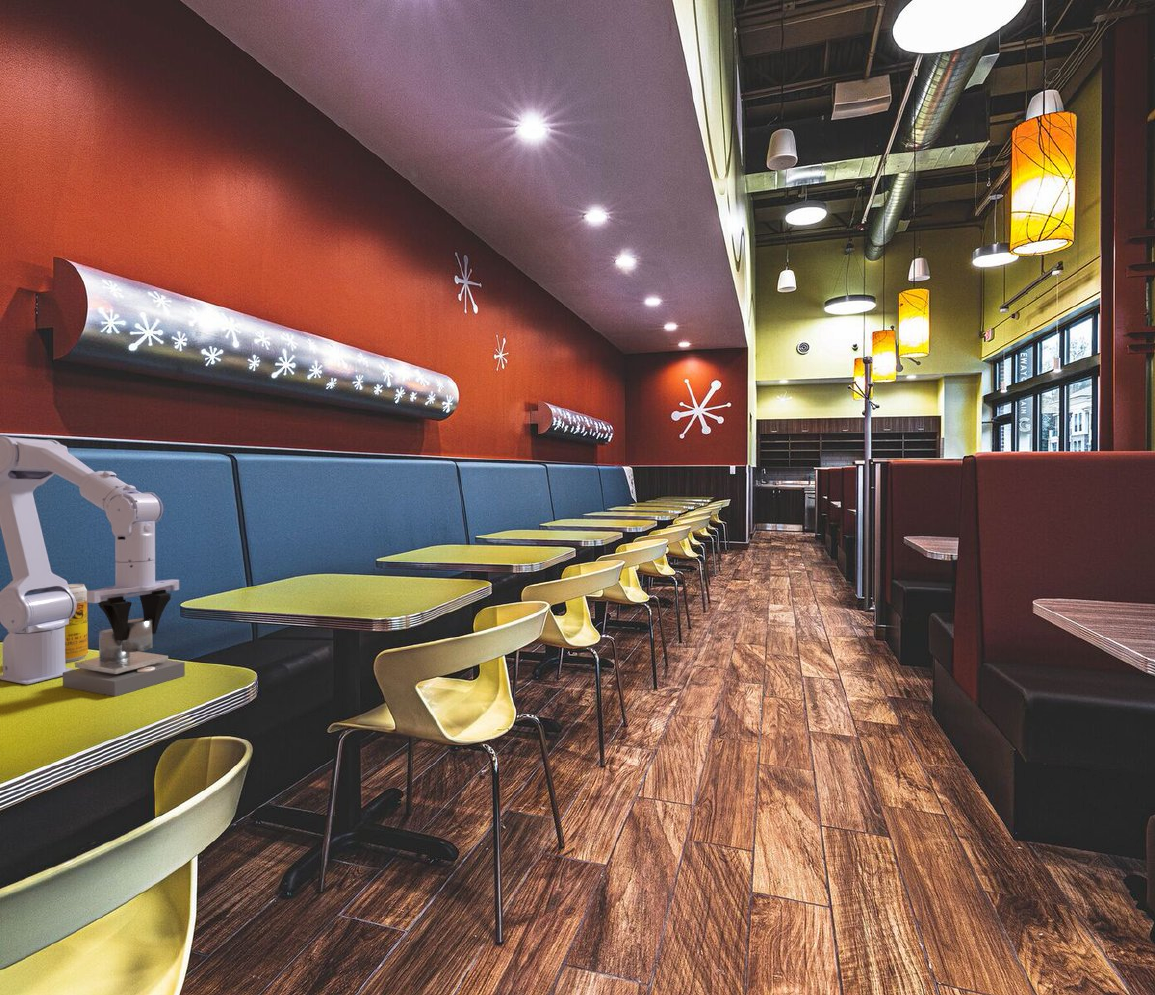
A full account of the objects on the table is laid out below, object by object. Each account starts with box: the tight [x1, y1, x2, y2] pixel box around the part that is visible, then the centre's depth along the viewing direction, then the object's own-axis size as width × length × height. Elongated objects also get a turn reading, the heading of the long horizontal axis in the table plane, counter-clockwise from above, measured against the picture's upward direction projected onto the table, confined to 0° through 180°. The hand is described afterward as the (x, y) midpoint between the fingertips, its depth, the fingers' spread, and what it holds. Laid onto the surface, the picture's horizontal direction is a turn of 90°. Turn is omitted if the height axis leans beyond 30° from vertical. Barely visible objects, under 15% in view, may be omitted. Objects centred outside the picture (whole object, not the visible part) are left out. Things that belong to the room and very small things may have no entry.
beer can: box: [65, 583, 89, 664], centre depth 123 cm, size 6×6×15 cm
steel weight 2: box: [122, 617, 153, 652], centre depth 108 cm, size 4×4×5 cm
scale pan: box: [74, 651, 169, 674], centre depth 109 cm, size 11×9×1 cm
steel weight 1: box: [98, 628, 130, 662], centre depth 110 cm, size 4×4×5 cm
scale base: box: [62, 659, 186, 697], centre depth 109 cm, size 14×12×3 cm
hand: (135, 636), depth 108 cm, fingers closed on steel weight 2, 4 cm apart
